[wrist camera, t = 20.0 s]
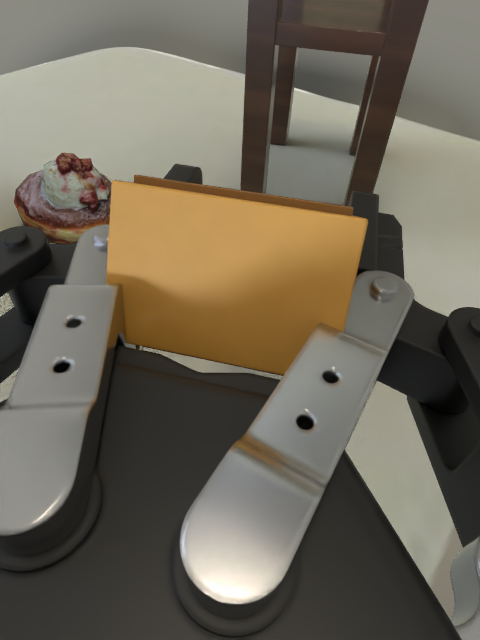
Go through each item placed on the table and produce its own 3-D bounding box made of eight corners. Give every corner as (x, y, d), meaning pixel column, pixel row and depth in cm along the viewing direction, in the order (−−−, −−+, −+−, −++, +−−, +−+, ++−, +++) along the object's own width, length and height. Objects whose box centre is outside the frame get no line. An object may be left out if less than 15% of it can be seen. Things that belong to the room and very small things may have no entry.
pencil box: (331, 387, 8) (371, 209, 7) (101, 339, 8) (111, 170, 7) (324, 256, 29) (334, 207, 28) (259, 245, 29) (266, 197, 28)
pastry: (123, 242, 31) (110, 177, 27) (11, 250, 29) (-17, 183, 26) (124, 186, 36) (114, 126, 32) (30, 191, 35) (8, 129, 31)
